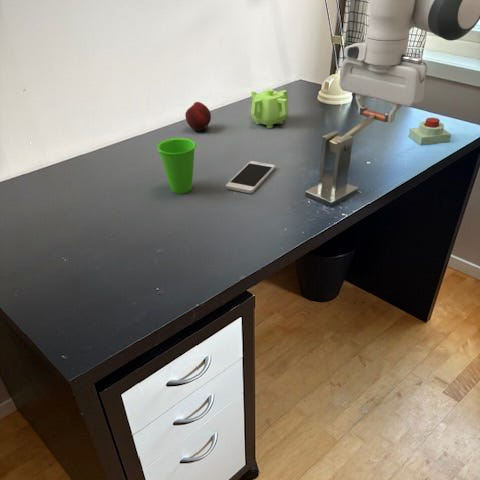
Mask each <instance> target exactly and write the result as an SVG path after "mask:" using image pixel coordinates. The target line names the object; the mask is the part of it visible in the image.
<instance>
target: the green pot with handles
mask: <svg viewBox="0 0 480 480" xmlns="http://www.w3.org/2000/svg"><path fill="white" fill-rule="evenodd" d="M250 94H251V98H252V100H251V107H250V115H251V118H252V120H253V121H254V122H255V124H256V125H266V128H267V129H272V128H273V127H274V124H278V125H282V124H284V121H285V120H286V119H287V117H288V115H289V113H290V110H289V98H288V96H289V95H288V90H285V89H282V90H280V91H276V90H274V89H273V88H267V89H266V90H265V91H261V92H259V93H257V92H256V91H251V92H250Z"/></svg>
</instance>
